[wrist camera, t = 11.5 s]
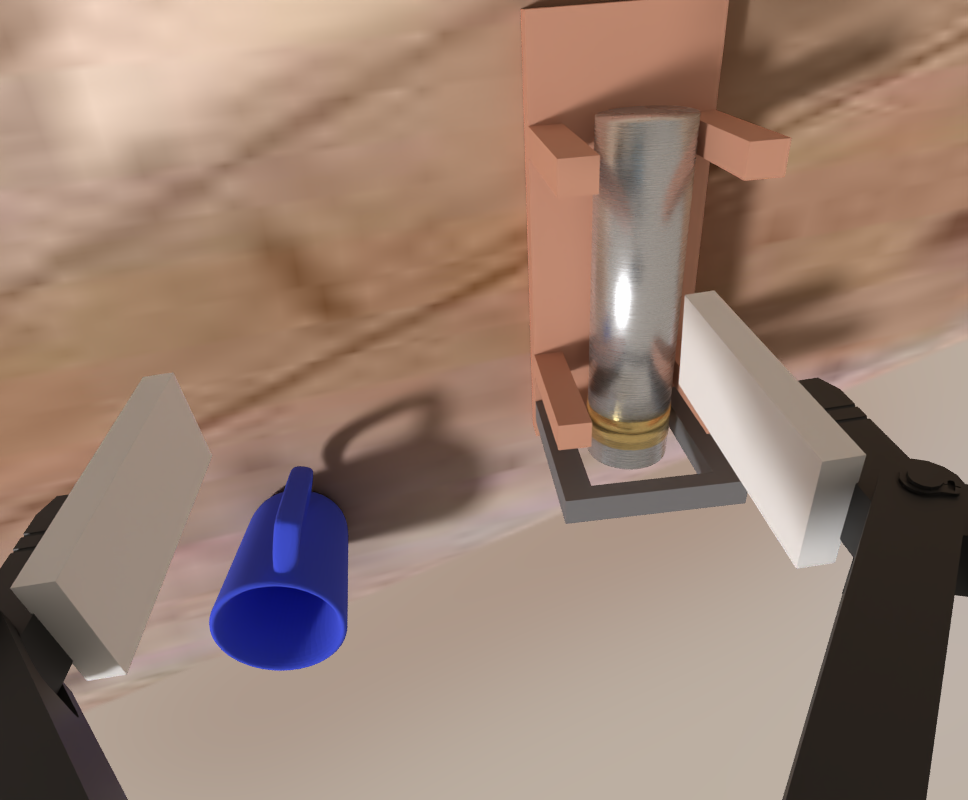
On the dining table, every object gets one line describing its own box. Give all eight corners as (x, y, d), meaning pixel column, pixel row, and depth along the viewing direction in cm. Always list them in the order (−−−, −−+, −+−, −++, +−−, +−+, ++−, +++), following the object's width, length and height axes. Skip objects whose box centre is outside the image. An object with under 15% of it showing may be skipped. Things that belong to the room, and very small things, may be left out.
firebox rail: (520, 9, 32) (567, 14, 22) (717, -7, 32) (847, -8, 23) (532, 423, 45) (565, 539, 36) (672, 408, 46) (742, 519, 36)
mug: (369, 438, 45) (359, 540, 36) (352, 562, 51) (340, 674, 42) (246, 424, 43) (206, 528, 35) (244, 554, 49) (209, 669, 41)
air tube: (571, 116, 32) (649, 127, 28) (644, 102, 34) (724, 110, 31) (569, 442, 43) (626, 480, 39) (625, 414, 45) (683, 448, 41)
